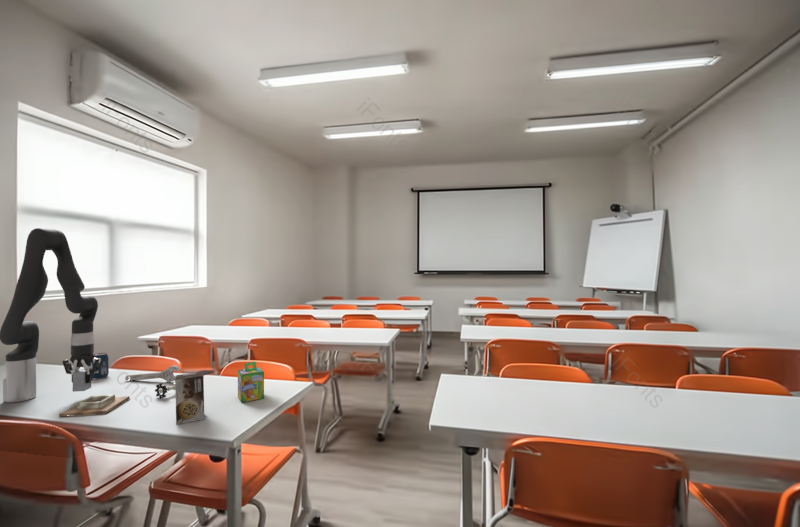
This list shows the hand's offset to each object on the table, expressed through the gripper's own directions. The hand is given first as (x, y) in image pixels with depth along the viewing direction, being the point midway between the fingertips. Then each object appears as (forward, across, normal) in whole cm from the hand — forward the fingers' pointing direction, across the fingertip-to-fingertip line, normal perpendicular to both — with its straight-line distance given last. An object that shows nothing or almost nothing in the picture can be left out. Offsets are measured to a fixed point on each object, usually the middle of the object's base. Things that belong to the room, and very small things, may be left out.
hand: (82, 382), depth 159 cm
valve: (+7, +36, -2) cm, 37 cm away
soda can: (+8, -12, +35) cm, 38 cm away
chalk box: (+6, +71, -14) cm, 73 cm away
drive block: (+3, 0, 0) cm, 3 cm away
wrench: (+7, +18, +21) cm, 29 cm away
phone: (+7, +36, +28) cm, 46 cm away
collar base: (+7, +12, -12) cm, 19 cm away
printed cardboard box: (+6, +54, -32) cm, 64 cm away
